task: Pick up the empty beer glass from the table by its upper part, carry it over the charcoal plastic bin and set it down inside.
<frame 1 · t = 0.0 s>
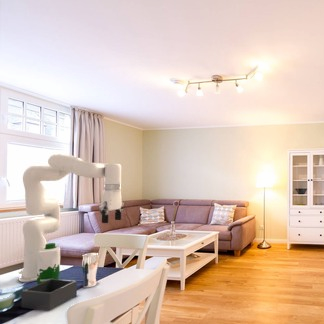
hand: (111, 221, 139), 31 cm above the table, tool pointing down, fingers open, 9 cm apart
milk carton: (48, 286, 135), on the table
bin: (50, 301, 118), on the table
beer glass: (89, 285, 136), on the table
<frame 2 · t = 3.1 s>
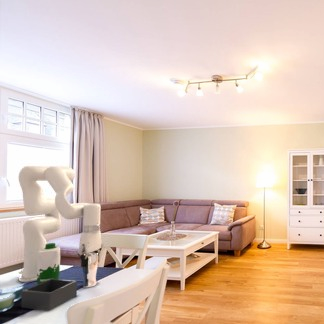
hand: (90, 264, 137), 10 cm above the table, tool pointing down, fingers closed on beer glass, 7 cm apart
beer glass: (89, 285, 136), on the table, touching gripper
everything else where it was.
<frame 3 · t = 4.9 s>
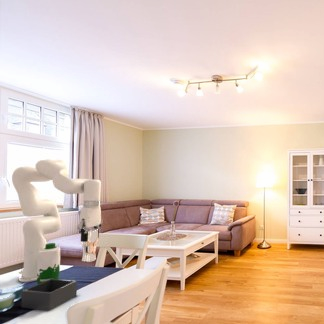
hand: (89, 239, 137), 22 cm above the table, tool pointing down, fingers closed on beer glass, 7 cm apart
beer glass: (88, 260, 137), point 12 cm above the table, touching gripper
everything else where it was.
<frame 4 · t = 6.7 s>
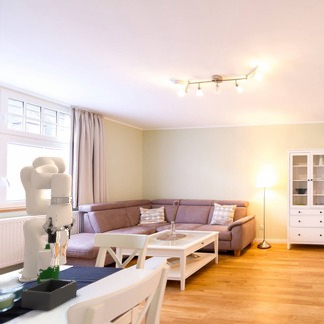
hand: (59, 240, 122), 25 cm above the table, tool pointing down, fingers closed on beer glass, 7 cm apart
beer glass: (58, 264, 122), point 15 cm above the table, touching gripper
everything else where it was.
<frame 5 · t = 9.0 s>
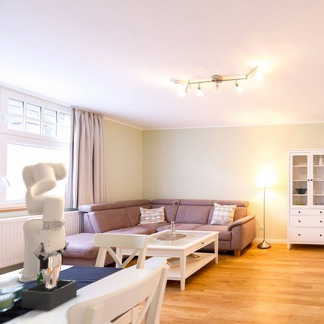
hand: (51, 265, 119), 15 cm above the table, tool pointing down, fingers closed on beer glass, 7 cm apart
beer glass: (50, 290, 118), point 5 cm above the table, touching gripper
everything else where it was.
when the fingers open (11 cm above the table, at t = 10.6 s): beer glass stays where it is, resting on bin.
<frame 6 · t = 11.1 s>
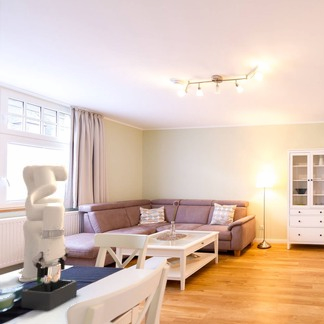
hand: (51, 273, 119), 12 cm above the table, tool pointing down, fingers open, 9 cm apart
beer glass: (50, 300, 118), point 1 cm above the table, touching bin
everything else where it was.
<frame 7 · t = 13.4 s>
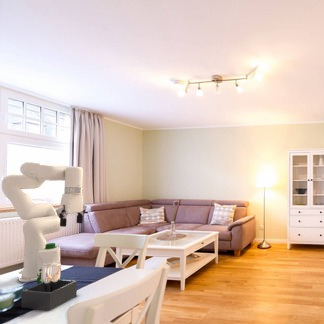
hand: (71, 224, 138), 30 cm above the table, tool pointing down, fingers open, 9 cm apart
nothing on the table moved.
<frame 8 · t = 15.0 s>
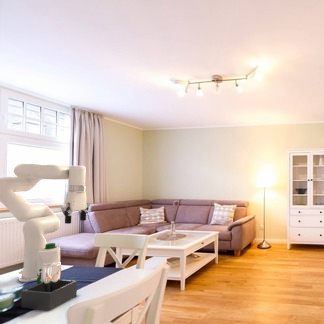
hand: (75, 221, 143), 30 cm above the table, tool pointing down, fingers open, 9 cm apart
nothing on the table moved.
at the end: beer glass inside the target area in the bin (0.0 cm from its centre), point 0.6 cm above the bin's base; beer glass tilted 0°; the gripper is holding nothing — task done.
